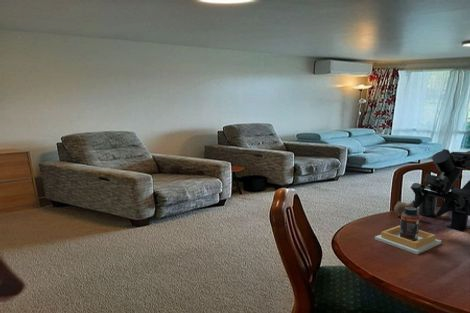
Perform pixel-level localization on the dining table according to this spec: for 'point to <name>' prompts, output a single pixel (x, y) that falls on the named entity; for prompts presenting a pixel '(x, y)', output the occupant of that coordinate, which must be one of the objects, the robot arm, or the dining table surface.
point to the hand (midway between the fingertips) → (424, 212)
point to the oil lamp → (402, 207)
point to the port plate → (418, 246)
